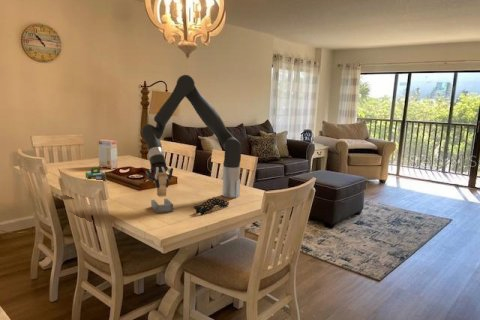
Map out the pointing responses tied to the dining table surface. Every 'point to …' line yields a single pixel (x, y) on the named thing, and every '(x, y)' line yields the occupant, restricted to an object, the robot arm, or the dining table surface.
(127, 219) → the dining table surface
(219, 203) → the decorative element
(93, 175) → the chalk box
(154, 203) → the end cap
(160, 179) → the tan wooden block
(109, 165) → the cracker box
